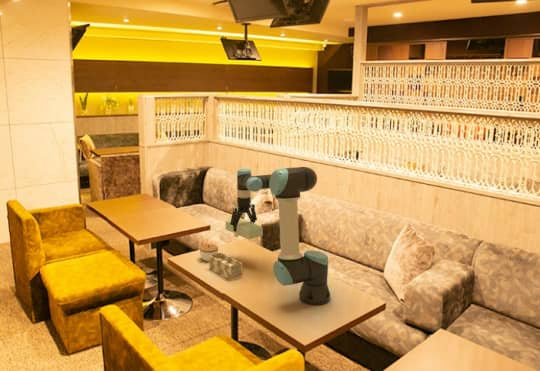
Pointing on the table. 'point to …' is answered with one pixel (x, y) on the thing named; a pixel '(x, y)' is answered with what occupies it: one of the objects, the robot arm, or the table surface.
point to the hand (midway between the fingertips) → (243, 234)
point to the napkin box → (225, 266)
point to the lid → (246, 229)
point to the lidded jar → (208, 251)
